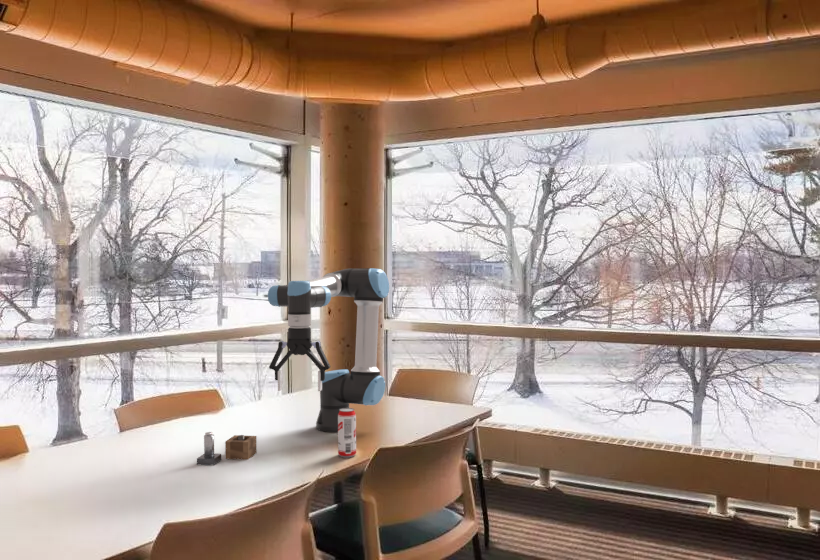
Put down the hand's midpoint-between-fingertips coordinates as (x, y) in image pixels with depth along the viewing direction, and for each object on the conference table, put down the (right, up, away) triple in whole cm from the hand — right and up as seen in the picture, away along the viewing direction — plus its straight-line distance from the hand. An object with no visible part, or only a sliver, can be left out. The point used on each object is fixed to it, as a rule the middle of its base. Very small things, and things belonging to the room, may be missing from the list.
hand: (300, 390), depth 218 cm
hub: (-31, -24, +1) cm, 39 cm away
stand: (-22, -24, +8) cm, 33 cm away
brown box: (-22, -24, +8) cm, 33 cm away
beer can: (+15, -24, +7) cm, 29 cm away
